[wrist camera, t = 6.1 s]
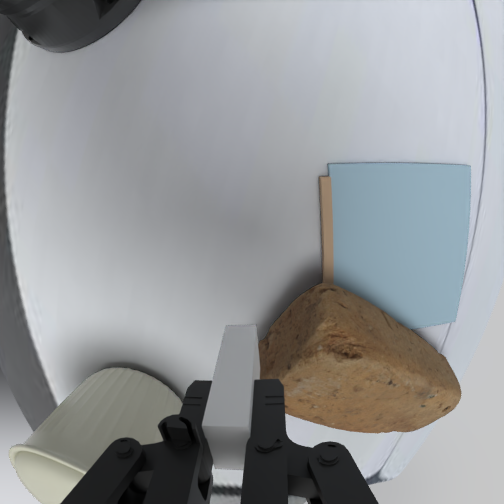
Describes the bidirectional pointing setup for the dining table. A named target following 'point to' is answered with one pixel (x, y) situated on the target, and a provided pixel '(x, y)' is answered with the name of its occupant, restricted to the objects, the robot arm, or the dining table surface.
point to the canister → (91, 429)
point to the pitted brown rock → (355, 365)
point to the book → (398, 236)
